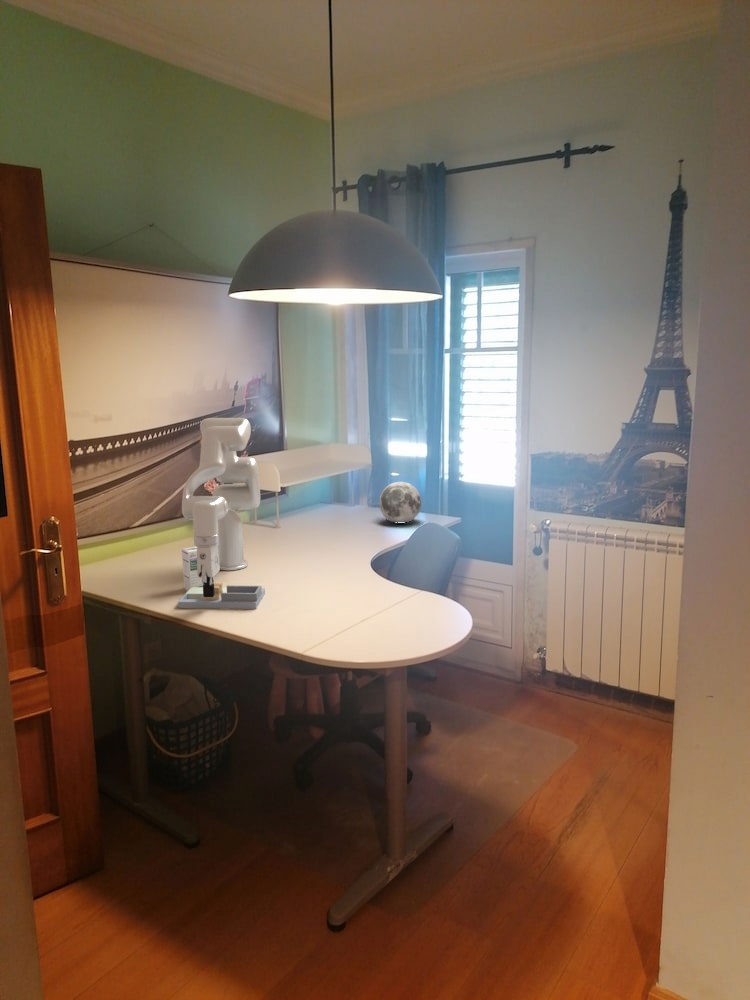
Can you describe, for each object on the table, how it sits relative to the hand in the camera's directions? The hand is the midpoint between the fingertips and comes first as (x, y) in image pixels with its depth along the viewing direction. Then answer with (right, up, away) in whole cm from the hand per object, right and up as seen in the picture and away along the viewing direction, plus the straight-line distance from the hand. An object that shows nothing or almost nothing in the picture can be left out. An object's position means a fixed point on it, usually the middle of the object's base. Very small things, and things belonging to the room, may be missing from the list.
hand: (208, 596), depth 232 cm
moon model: (+65, +19, +117) cm, 135 cm away
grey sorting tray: (+3, -2, +8) cm, 9 cm away
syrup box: (-9, 0, +20) cm, 22 cm away
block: (0, -1, +6) cm, 6 cm away
